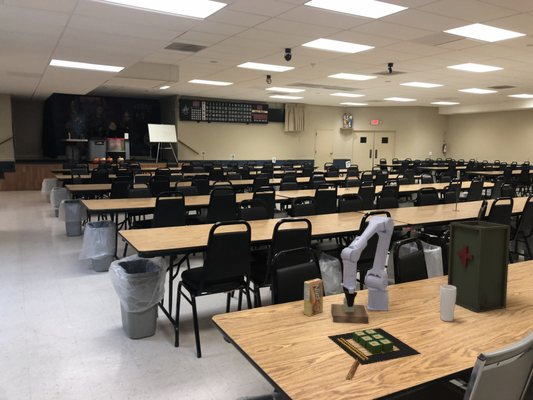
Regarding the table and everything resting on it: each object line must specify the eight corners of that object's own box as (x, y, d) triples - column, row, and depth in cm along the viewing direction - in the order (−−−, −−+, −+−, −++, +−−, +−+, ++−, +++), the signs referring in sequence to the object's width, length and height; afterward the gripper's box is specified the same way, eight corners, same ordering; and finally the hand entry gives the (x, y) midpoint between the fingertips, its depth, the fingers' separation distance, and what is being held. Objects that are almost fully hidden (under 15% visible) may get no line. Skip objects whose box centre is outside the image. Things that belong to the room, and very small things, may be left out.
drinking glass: (455, 318, 190) (456, 285, 188) (454, 323, 184) (456, 290, 182) (438, 316, 192) (440, 283, 191) (438, 321, 186) (439, 288, 185)
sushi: (327, 338, 170) (327, 329, 170) (380, 329, 178) (380, 321, 178) (362, 366, 146) (362, 356, 146) (420, 355, 155) (421, 345, 155)
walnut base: (363, 311, 198) (363, 305, 198) (368, 323, 184) (368, 316, 183) (331, 310, 200) (331, 304, 199) (333, 322, 185) (333, 315, 185)
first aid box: (505, 308, 203) (510, 225, 199) (477, 313, 196) (481, 228, 192) (474, 296, 220) (477, 220, 216) (446, 300, 213) (450, 222, 209)
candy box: (316, 309, 200) (317, 278, 199) (323, 312, 197) (323, 280, 196) (303, 314, 195) (303, 281, 193) (309, 316, 192) (310, 283, 190)
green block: (353, 308, 193) (353, 297, 193) (354, 312, 189) (354, 301, 188) (343, 308, 194) (343, 297, 193) (344, 311, 189) (344, 300, 189)
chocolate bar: (344, 379, 138) (344, 373, 137) (353, 363, 148) (353, 357, 148) (352, 381, 136) (352, 374, 136) (360, 365, 147) (360, 359, 147)
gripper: (339, 270, 197) (338, 298, 199) (342, 278, 183) (341, 309, 184) (354, 270, 197) (354, 298, 198) (358, 279, 182) (358, 309, 184)
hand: (349, 303), depth 191 cm, fingers open, 7 cm apart
